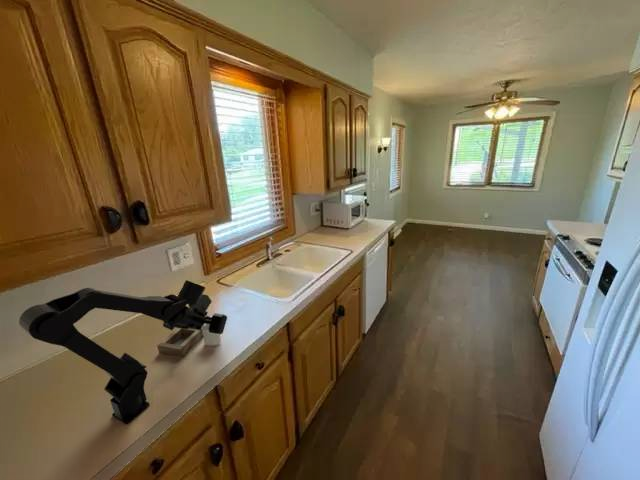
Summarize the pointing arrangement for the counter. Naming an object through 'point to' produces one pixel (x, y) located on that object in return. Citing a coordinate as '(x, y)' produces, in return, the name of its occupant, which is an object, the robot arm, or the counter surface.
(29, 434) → the counter surface
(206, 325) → the eye dropper bottle
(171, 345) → the socket block
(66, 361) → the counter surface
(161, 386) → the counter surface
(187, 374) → the counter surface
